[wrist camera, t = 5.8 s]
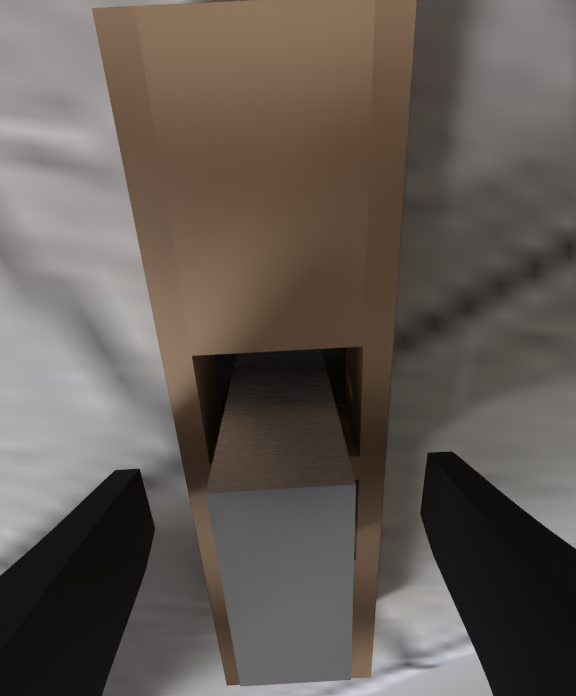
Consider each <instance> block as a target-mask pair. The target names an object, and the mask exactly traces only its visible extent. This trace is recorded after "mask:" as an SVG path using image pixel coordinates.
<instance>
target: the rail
mask: <svg viewBox="0 0 576 696" xmlns="http://www.w3.org/2000/svg"><path fill="white" fill-rule="evenodd" d="M416 5H417V0H246V1H226V2H207V3H187V4H167V5H147V6H128V7H108V8H92V11H93V16H94V21H95V26H96V31H97V36H98V41H99V46H100V51H101V56H102V61H103V66H104V71H105V76H106V81H107V86H108V91H109V96H110V101H111V106H112V111H113V116H114V121H115V126H116V131H117V136H118V141H119V146H120V151H121V156H122V161H123V166H124V171H125V176H126V181H127V186H128V191H129V196H130V201H131V206H132V212H133V217H134V222H135V227H136V232H137V237H138V242H139V247H140V252H141V257H142V262H143V267H144V272H145V277H146V282H147V287H148V292H149V297H150V302H151V307H152V312H153V317H154V322H155V327H156V332H157V337H158V342H159V347H160V352H161V357H162V362H163V367H164V372H165V377H166V382H167V387H168V392H169V397H170V402H171V407H172V412H173V417H174V422H175V427H176V432H177V437H178V442H179V447H180V452H181V457H182V463H183V468H184V473H185V478H186V483H187V488H188V493H189V498H190V503H191V508H192V513H193V518H194V523H195V528H196V533H197V538H198V543H199V548H200V553H201V558H202V563H203V568H204V573H205V578H206V583H207V588H208V593H209V598H210V603H211V608H212V613H213V618H214V623H215V628H216V633H217V638H218V643H219V648H220V653H221V658H222V663H223V668H224V673H225V678H226V683H227V685H240V681H239V676H238V670H237V665H236V659H235V654H234V648H233V642H232V637H231V631H230V626H229V620H228V615H227V609H226V603H225V598H224V592H223V587H222V581H221V576H220V570H219V565H218V559H217V553H216V548H215V542H214V537H213V531H212V526H211V520H210V514H209V509H208V503H207V498H206V490H207V485H208V481H209V477H210V472H211V468H212V463H213V459H214V454H215V450H216V445H217V441H218V436H219V432H220V427H221V423H222V419H223V414H224V412H222V410H221V403H220V396H219V389H218V381H217V374H216V367H215V360H214V355H215V354H233V353H252V352H270V351H289V350H307V349H326V348H344V347H346V352H345V406H336V408H337V412H338V416H339V420H340V424H341V428H342V432H343V436H344V440H345V444H346V448H347V452H348V456H349V459H350V463H351V467H352V471H353V475H354V479H355V483H356V501H355V540H354V578H353V616H352V654H351V678H364V677H371V667H372V653H373V638H374V623H375V608H376V594H377V579H378V564H379V550H380V535H381V520H382V505H383V491H384V476H385V461H386V446H387V432H388V417H389V402H390V388H391V373H392V358H393V343H394V329H395V314H396V299H397V285H398V270H399V255H400V240H401V226H402V211H403V196H404V182H405V167H406V152H407V137H408V123H409V108H410V93H411V78H412V64H413V49H414V34H415V20H416Z"/></svg>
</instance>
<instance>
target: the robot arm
mask: <svg viewBox="0 0 576 696" xmlns="http://www.w3.org/2000/svg"><path fill="white" fill-rule="evenodd" d="M420 514H421V518H422V521H423V524H424V528H425V531H426V534H427V537H428V540H429V544H430V547H431V550H432V553H433V556H434V558H435V560H436V563H437V565H438V567H439V569H440V572H441V574H442V576H443V579H444V581H445V583H446V585H447V588H448V590H449V592H450V594H451V597H452V599H453V601H454V603H455V606H456V608H457V610H458V612H459V615H460V617H461V619H462V621H463V624H464V626H465V628H466V630H467V633H468V635H469V637H470V639H471V642H472V644H473V646H474V648H475V650H476V653H477V655H478V657H479V660H480V662H481V665H482V667H483V670H484V672H485V675H486V677H487V679H488V682H489V685H490V688H491V690H492V693H493V696H576V549H575V548H574V547H572V546H571V545H569V544H568V543H567V542H565V541H564V540H563V539H561V538H560V537H558V536H557V535H556V534H554V533H553V532H551V531H550V530H549V529H548V528H546V527H545V526H544V525H542V524H541V523H540V522H538V521H537V520H536V519H534V518H533V517H532V516H531V515H529V514H528V513H527V512H525V511H524V510H523V509H522V508H520V507H519V506H518V505H517V504H515V503H514V502H513V501H512V500H510V499H509V498H508V497H507V496H505V495H504V494H503V493H502V492H500V491H499V490H498V489H497V488H496V487H494V486H493V485H492V484H491V483H490V482H488V481H487V480H486V479H485V478H484V477H482V476H481V475H480V474H479V473H478V472H476V471H475V470H474V469H473V468H472V467H470V466H469V465H468V464H467V463H466V462H464V461H463V460H462V459H461V458H460V457H458V456H457V455H456V454H455V453H453V452H435V453H428V455H427V463H426V471H425V480H424V488H423V496H422V504H421V512H420ZM154 531H155V526H154V522H153V519H152V515H151V511H150V507H149V503H148V499H147V495H146V491H145V488H144V484H143V480H142V476H141V472H140V469H128V470H115V471H114V472H113V473H112V474H111V475H109V476H108V477H107V478H106V479H105V480H104V481H103V482H102V483H101V484H100V485H99V486H98V487H97V488H96V489H95V490H94V491H93V492H92V493H90V494H89V495H88V496H87V497H86V498H85V499H84V500H83V501H82V502H81V503H80V504H79V505H78V506H77V507H76V508H75V509H74V510H73V511H72V512H71V513H70V514H69V515H67V516H66V517H65V518H64V519H63V520H62V521H61V522H60V523H59V524H58V525H57V526H56V527H55V528H54V529H53V530H51V531H50V532H49V533H48V534H47V535H46V536H45V537H44V538H43V539H42V540H41V541H40V542H38V543H37V544H36V545H35V546H34V547H33V548H32V549H30V550H29V551H28V552H27V553H26V554H25V555H24V556H22V557H21V558H20V559H19V560H18V561H17V562H16V563H14V564H13V565H12V566H11V567H10V568H9V569H8V570H6V571H5V572H4V573H3V574H2V575H1V576H0V696H102V693H103V690H104V687H105V684H106V681H107V678H108V675H109V672H110V669H111V666H112V664H113V661H114V658H115V655H116V652H117V650H118V647H119V644H120V641H121V639H122V636H123V633H124V630H125V627H126V625H127V622H128V619H129V616H130V613H131V611H132V608H133V605H134V602H135V599H136V596H137V594H138V591H139V588H140V585H141V582H142V579H143V576H144V573H145V570H146V566H147V562H148V558H149V554H150V550H151V545H152V540H153V536H154Z"/></svg>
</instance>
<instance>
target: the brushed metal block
mask: <svg viewBox="0 0 576 696" xmlns="http://www.w3.org/2000/svg"><path fill="white" fill-rule="evenodd" d="M206 498H207V503H208V509H209V514H210V520H211V526H212V531H213V537H214V542H215V548H216V553H217V559H218V565H219V570H220V576H221V581H222V587H223V592H224V598H225V603H226V609H227V615H228V620H229V626H230V631H231V637H232V642H233V648H234V654H235V659H236V665H237V670H238V676H239V681H240V686H254V685H270V684H287V683H304V682H321V681H338V680H351V654H352V616H353V578H354V540H355V501H356V483H355V479H354V475H353V471H352V467H351V463H350V459H349V456H348V452H347V448H346V444H345V440H344V436H343V432H342V428H341V424H340V420H339V416H338V412H337V408H336V405H335V401H334V397H333V393H332V389H331V385H330V381H329V377H328V373H327V369H326V365H325V361H324V357H323V354H322V350H321V349H307V350H289V351H270V352H252V353H237V356H236V361H235V365H234V370H233V374H232V378H231V383H230V387H229V392H228V396H227V401H226V405H225V410H224V414H223V419H222V423H221V427H220V432H219V436H218V441H217V445H216V450H215V454H214V459H213V463H212V468H211V472H210V477H209V481H208V485H207V490H206Z"/></svg>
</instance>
